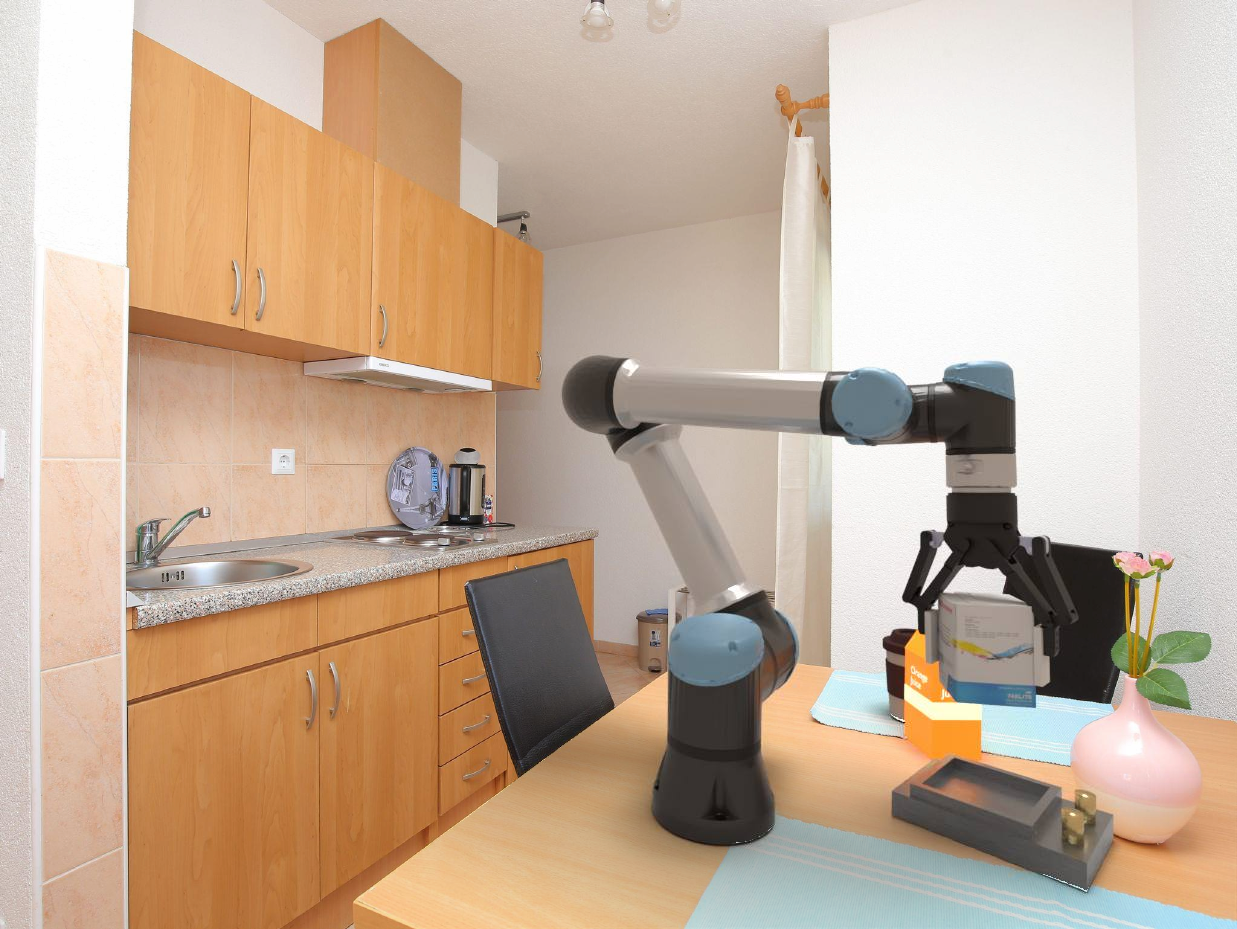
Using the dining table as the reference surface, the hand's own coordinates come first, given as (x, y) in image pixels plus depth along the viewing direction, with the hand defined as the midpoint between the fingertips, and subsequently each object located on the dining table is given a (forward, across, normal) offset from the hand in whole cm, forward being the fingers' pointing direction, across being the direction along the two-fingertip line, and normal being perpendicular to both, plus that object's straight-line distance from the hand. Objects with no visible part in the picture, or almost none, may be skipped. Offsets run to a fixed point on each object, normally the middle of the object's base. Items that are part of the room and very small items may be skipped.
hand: (984, 672), depth 78 cm
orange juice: (+19, -14, +20) cm, 31 cm away
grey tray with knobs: (+19, +1, +2) cm, 19 cm away
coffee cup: (+19, -22, +29) cm, 41 cm away
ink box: (+3, 0, 0) cm, 3 cm away
